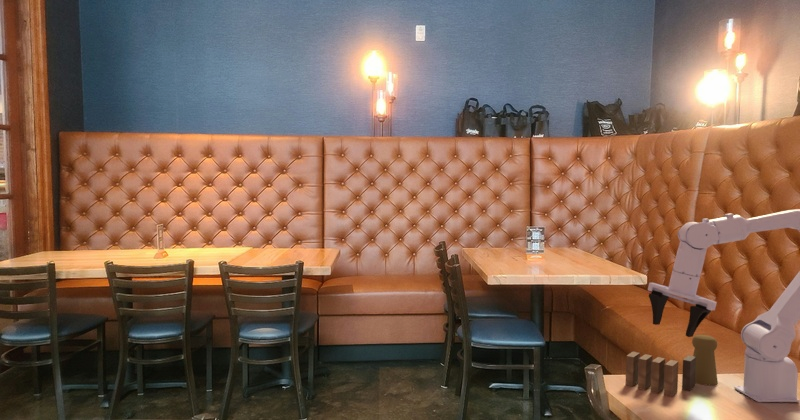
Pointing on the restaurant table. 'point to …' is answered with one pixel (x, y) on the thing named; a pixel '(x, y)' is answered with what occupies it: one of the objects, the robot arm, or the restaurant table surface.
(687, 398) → the restaurant table surface
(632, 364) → the tile
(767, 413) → the restaurant table surface
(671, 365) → the tile
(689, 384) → the tile
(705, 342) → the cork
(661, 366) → the tile
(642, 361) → the tile
